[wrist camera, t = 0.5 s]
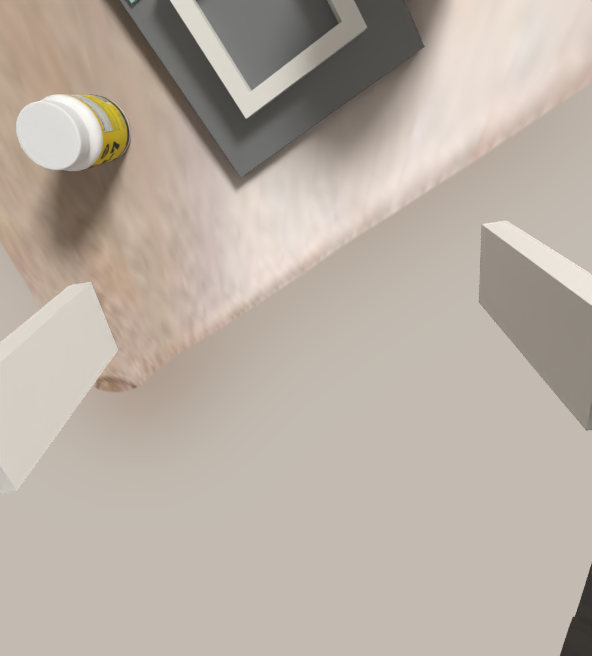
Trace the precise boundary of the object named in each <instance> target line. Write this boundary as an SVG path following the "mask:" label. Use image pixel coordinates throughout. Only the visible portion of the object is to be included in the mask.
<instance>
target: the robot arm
mask: <svg viewBox="0 0 592 656" xmlns="http://www.w3.org/2000/svg"><path fill="white" fill-rule="evenodd" d="M481 231H482V232H481V258H480V285H479V303H480V304H481V305H482V307H483V308H484V309H485V310H486V311H487V312H488V314H489V315H490V316H491V317H492V319H493V320H494V321H495V322H496V323H497V325H498V326H499V327H500V328H501V329H502V330H503V332H504V333H505V334H506V335H507V336H508V338H509V339H510V340H511V341H512V342H513V344H514V345H515V346H516V347H517V348H518V350H519V351H520V352H521V353H522V354H523V356H525V358H526V359H527V360H528V362H529V363H530V364H531V365H532V366H533V367H534V369H535V370H536V371H537V372H538V373H539V374H540V376H541V377H542V378H543V379H544V381H545V382H546V383H547V384H548V385H549V387H550V388H551V389H552V390H553V391H554V393H555V394H556V395H557V396H558V397H559V399H560V400H561V401H562V402H563V403H564V404H565V406H566V407H567V408H568V409H569V410H570V412H571V413H572V414H573V415H574V416H575V417H576V419H577V420H578V421H579V422H580V424H581V425H582V426H583V427H584V428H585V430H592V274H590V273H589V272H587V271H585V270H584V269H582V268H581V267H579V266H578V265H576V264H574V263H573V262H571V261H570V260H568V259H567V258H565V257H563V256H562V255H560V254H558V253H557V252H555V251H554V250H552V249H551V248H549V247H547V246H546V245H544V244H543V243H541V242H540V241H538V240H536V239H535V238H533V237H531V236H530V235H528V234H527V233H525V232H524V231H522V230H521V229H519V228H517V227H516V226H514V225H513V224H511V223H509V222H508V221H501V222H494V223H487V224H482V230H481ZM117 351H118V349H117V347H116V344H115V341H114V339H113V336H112V334H111V331H110V329H109V326H108V324H107V321H106V319H105V316H104V314H103V311H102V309H101V306H100V304H99V301H98V299H97V296H96V294H95V291H94V289H93V286H92V284H91V282H87V283H80V284H73V285H69V286H68V287H67V288H66V289H64V290H63V291H62V292H61V293H59V294H58V295H57V296H56V297H55V298H53V299H52V300H51V301H50V302H49V303H47V304H46V305H45V306H44V307H43V308H41V309H40V310H39V311H38V312H37V313H35V314H34V315H33V316H32V317H30V318H29V319H28V320H27V321H26V322H24V323H23V324H22V325H21V326H19V327H18V328H17V329H16V330H15V331H13V332H12V333H11V334H10V335H9V336H8V337H6V338H5V339H4V340H3V341H1V342H0V493H5V492H14V491H17V490H18V489H19V487H20V486H21V484H22V483H23V482H24V480H25V479H26V477H27V476H28V475H29V473H30V472H31V471H32V469H33V468H34V466H35V465H36V464H37V462H38V461H39V459H40V458H41V457H42V455H43V454H44V453H45V451H46V449H47V448H48V447H49V446H50V444H51V443H52V441H53V440H54V439H55V437H56V436H57V434H58V433H59V432H60V430H61V429H62V427H63V426H64V425H65V423H66V422H67V421H68V419H69V418H70V416H71V415H72V414H73V412H74V411H75V409H76V408H77V407H78V405H79V404H80V402H81V401H82V400H83V398H84V397H85V395H86V394H87V393H88V391H89V390H90V388H91V387H92V386H93V384H94V383H95V382H96V380H97V379H98V377H99V376H100V375H101V373H102V372H103V370H104V369H105V368H106V366H107V365H108V363H109V362H110V361H111V359H112V358H113V357H114V355H115V354H116V352H117ZM560 656H592V565H591V567H590V571H589V574H588V577H587V580H586V584H585V587H584V590H583V593H582V596H581V600H580V603H579V606H578V609H577V612H576V615H575V617H573V618H572V621H571V624H570V626H569V629H568V632H567V635H566V638H565V642H564V644H563V648H562V651H561V654H560Z"/></svg>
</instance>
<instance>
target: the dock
mask: <svg viewBox="0 0 592 656" xmlns="http://www.w3.org/2000/svg"><path fill="white" fill-rule="evenodd" d="M120 1H121V3H122V4H123V6H124V7H125V9H126V10H127V12H128V13H129V15H130V16H131V17H132V19H133V20H134V22H135V23H136V25H137V26H138V28H139V29H140V31H141V32H142V34H143V35H144V37H145V38H146V39H147V41H148V42H149V44H150V45H151V47H152V48H153V50H154V51H155V53H156V54H157V56H158V57H159V58H160V60H161V61H162V63H163V64H164V66H165V67H166V69H167V70H168V72H169V73H170V75H171V76H172V78H173V79H174V80H175V82H176V83H177V85H178V86H179V88H180V89H181V91H182V92H183V94H184V95H185V97H186V98H187V100H188V101H189V102H190V104H191V105H192V107H193V108H194V110H195V111H196V113H197V114H198V116H199V117H200V119H201V120H202V122H203V123H204V124H205V126H206V127H207V129H208V130H209V132H210V133H211V135H212V136H213V138H214V139H215V141H216V142H217V144H218V145H219V146H220V148H221V149H222V151H223V152H224V154H225V155H226V157H227V158H228V160H229V161H230V163H231V164H232V165H233V167H234V168H235V170H236V171H237V173H238V174H239V176H240V177H242V176H243V175H245V174H246V173H248V172H249V171H250V170H252V169H253V168H255V167H256V166H257V165H259V164H260V163H262V162H263V161H264V160H266V159H267V158H269V157H270V156H271V155H273V154H274V153H276V152H277V151H278V150H280V149H281V148H283V147H284V146H286V145H287V144H288V143H290V142H291V141H293V140H294V139H295V138H297V137H298V136H300V135H301V134H302V133H304V132H305V131H307V130H308V129H309V128H311V127H312V126H314V125H315V124H316V123H318V122H319V121H321V120H322V119H323V118H325V117H326V116H328V115H329V114H330V113H332V112H333V111H335V110H336V109H338V108H339V107H340V106H342V105H343V104H345V103H346V102H347V101H349V100H350V99H352V98H353V97H354V96H356V95H357V94H359V93H360V92H361V91H363V90H364V89H366V88H367V87H368V86H370V85H371V84H373V83H374V82H375V81H377V80H378V79H380V78H381V77H382V76H384V75H385V74H387V73H388V72H390V71H391V70H392V69H394V68H395V67H397V66H398V65H399V64H401V63H402V62H404V61H405V60H406V59H408V58H409V57H411V56H412V55H413V54H415V53H416V52H418V51H419V50H420V49H422V48H423V47H425V46H424V44H423V42H422V40H421V37H420V35H419V33H418V31H417V29H416V26H415V24H414V22H413V20H412V17H411V15H410V13H409V11H408V9H407V6H406V4H405V2H404V0H120Z"/></svg>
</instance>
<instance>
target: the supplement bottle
mask: <svg viewBox="0 0 592 656" xmlns="http://www.w3.org/2000/svg"><path fill="white" fill-rule="evenodd" d="M16 133H17V138H18V141H19V143H20V145H21V147H22V149H23V151H24V152H25V153H26V155H27V156H28V157H29V158H30V159H31V160H32V161H33V162H35V163H36V164H38V165H39V166H41V167H43V168H46V169H50V170H67V171H80V170H85V169H87V168H91V167H94V166H97V165H100V164H103V163H106V162H109V161H113V160H115V159H117V158H119V157H120V156H121V155H122V154H123V153H124V152H125V151H126V149H127V148H128V146H129V143H130V138H131V131H130V125H129V122H128V119H127V117H126V115H125V114H124V112H123V111H122V110H121V108H120V107H119V106H118V105H117V104H115V103H114V102H113V101H111V100H110V99H108V98H105V97H103V96H98V95H65V94H57V95H51V96H48V97H46V98H44V99H42V100H41V101H37V102H33V103H30V104H28V105H27V106H25V107H24V108H23V109H22V110H21V112H20V113H19V115H18V118H17V122H16Z"/></svg>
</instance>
